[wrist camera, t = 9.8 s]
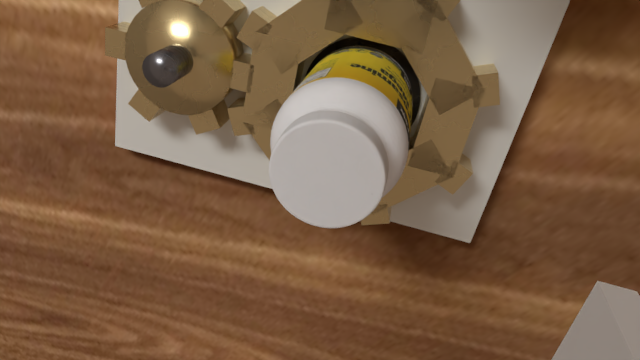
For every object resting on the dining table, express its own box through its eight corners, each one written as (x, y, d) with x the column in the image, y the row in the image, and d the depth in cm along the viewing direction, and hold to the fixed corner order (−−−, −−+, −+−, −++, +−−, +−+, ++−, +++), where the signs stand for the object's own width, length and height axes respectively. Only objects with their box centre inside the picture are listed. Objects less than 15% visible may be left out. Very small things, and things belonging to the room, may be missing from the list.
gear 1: (125, -39, 29) (79, -34, 25) (274, -2, 29) (250, 8, 25) (121, 100, 33) (80, 123, 29) (252, 135, 32) (228, 163, 29)
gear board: (132, -106, 29) (121, -107, 28) (564, -3, 27) (570, 0, 26) (124, 139, 36) (115, 145, 35) (468, 233, 34) (470, 243, 33)
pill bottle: (435, 109, 29) (440, 199, 20) (348, 165, 32) (314, 270, 22) (370, 18, 28) (340, 67, 18) (284, 84, 30) (218, 158, 21)
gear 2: (261, -66, 27) (249, -66, 26) (531, -2, 26) (538, 3, 25) (228, 172, 34) (217, 185, 32) (443, 231, 33) (444, 248, 31)
